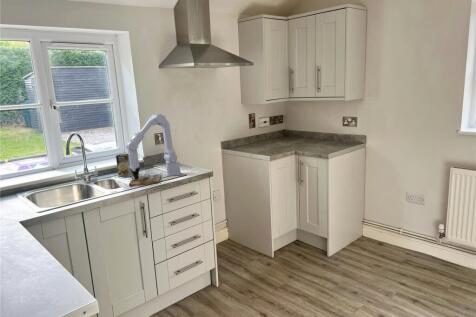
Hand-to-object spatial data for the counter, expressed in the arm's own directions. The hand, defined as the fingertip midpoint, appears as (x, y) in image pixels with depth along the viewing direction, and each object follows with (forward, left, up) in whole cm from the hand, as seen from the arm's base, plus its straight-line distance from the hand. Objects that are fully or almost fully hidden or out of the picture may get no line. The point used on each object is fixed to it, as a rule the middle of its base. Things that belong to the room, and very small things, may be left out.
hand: (136, 179), depth 236 cm
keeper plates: (-6, -6, -1) cm, 9 cm away
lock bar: (-2, -2, -1) cm, 3 cm away
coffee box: (+11, -24, -3) cm, 27 cm away
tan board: (-6, -3, -2) cm, 7 cm away
